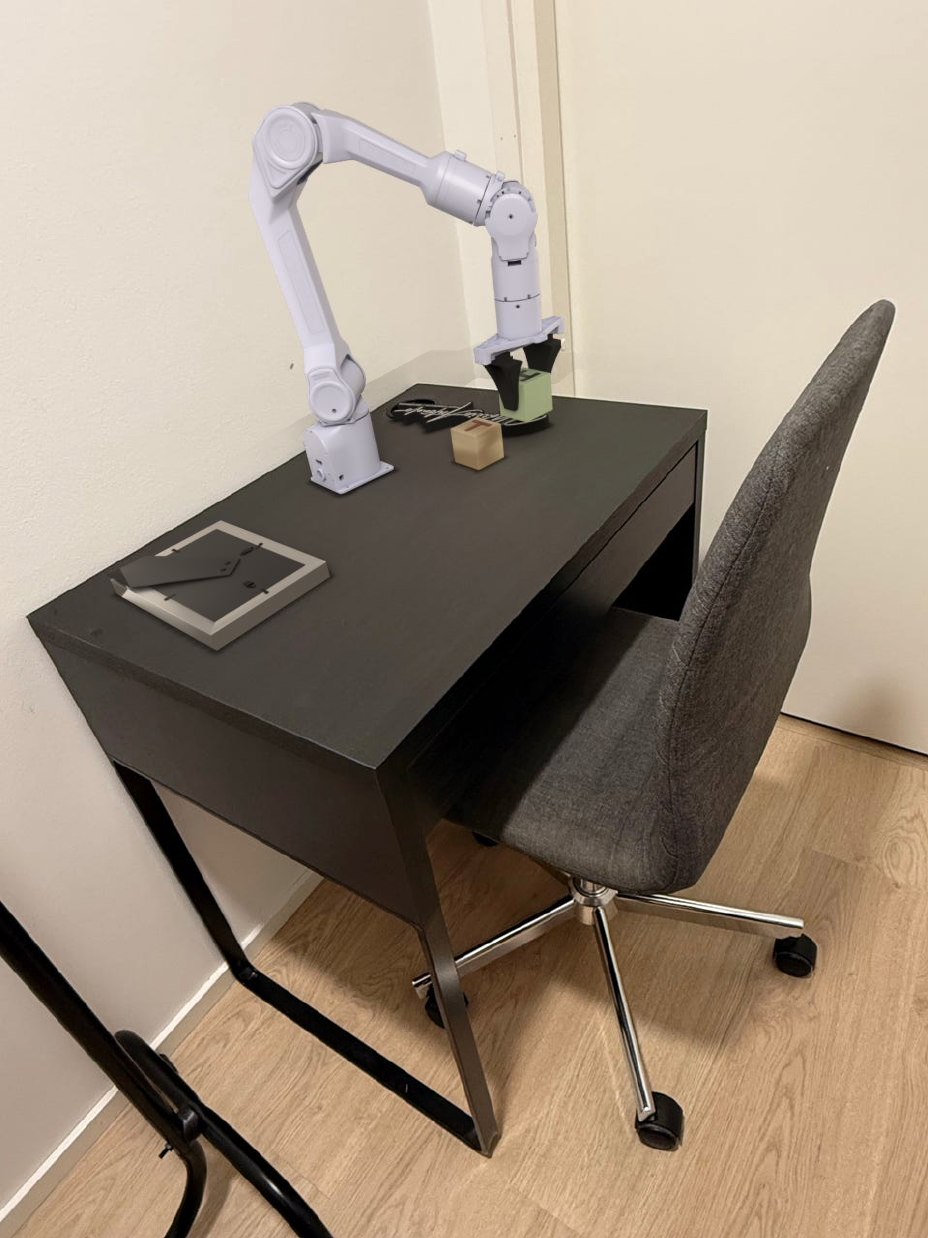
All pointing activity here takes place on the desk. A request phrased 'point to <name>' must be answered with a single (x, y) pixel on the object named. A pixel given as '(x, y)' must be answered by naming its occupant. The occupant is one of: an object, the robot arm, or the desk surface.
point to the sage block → (531, 396)
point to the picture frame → (219, 582)
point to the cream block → (477, 443)
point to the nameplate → (462, 417)
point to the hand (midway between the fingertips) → (525, 402)
